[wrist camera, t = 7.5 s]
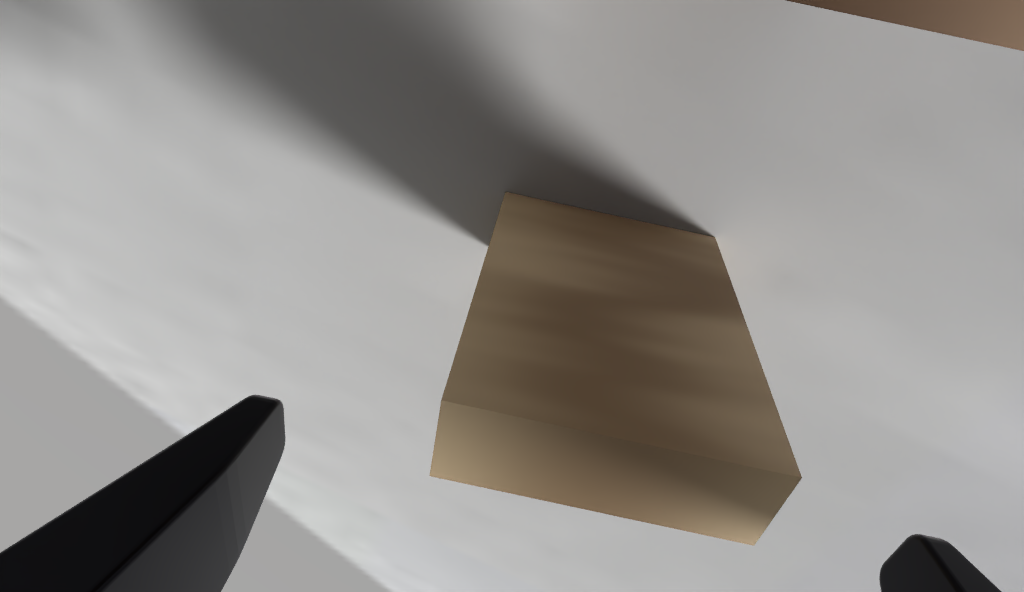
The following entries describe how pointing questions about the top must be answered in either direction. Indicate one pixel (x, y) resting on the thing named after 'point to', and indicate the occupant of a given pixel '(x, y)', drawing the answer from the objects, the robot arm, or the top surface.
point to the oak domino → (613, 377)
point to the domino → (944, 16)
